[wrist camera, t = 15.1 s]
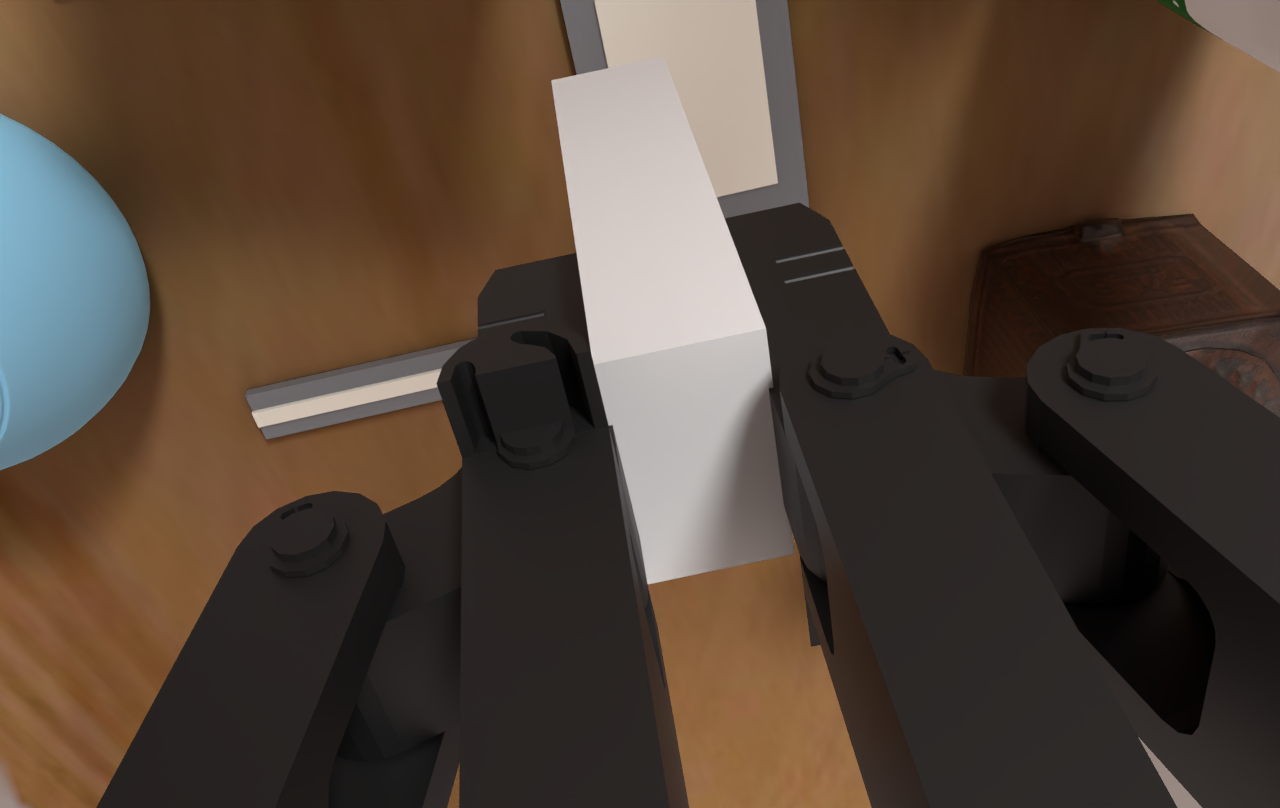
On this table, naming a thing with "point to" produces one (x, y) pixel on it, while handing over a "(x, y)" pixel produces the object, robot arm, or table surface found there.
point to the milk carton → (1238, 24)
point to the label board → (721, 125)
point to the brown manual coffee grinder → (1127, 298)
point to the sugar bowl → (61, 295)
